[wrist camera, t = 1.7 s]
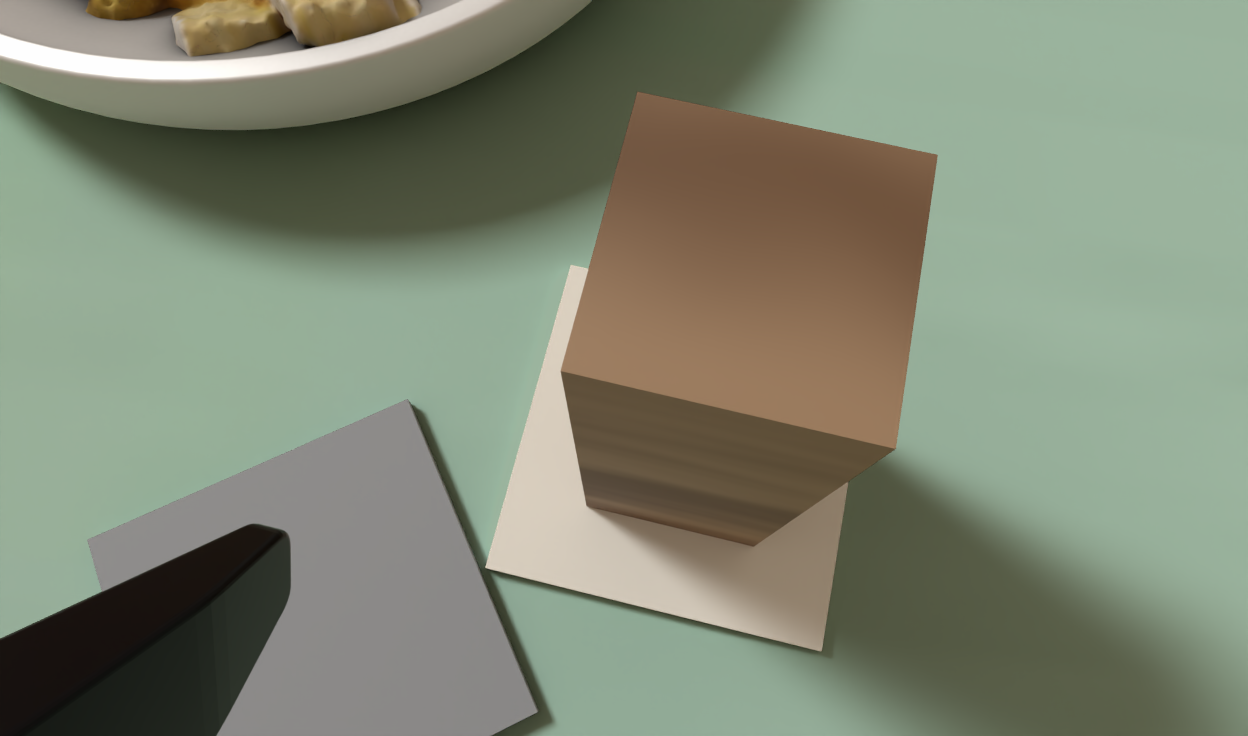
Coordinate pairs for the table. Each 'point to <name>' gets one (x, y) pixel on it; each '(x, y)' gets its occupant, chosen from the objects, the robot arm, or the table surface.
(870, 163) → the walnut block
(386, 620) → the rest mat
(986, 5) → the table surface
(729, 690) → the table surface
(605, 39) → the table surface
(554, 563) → the tile
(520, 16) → the bowl
